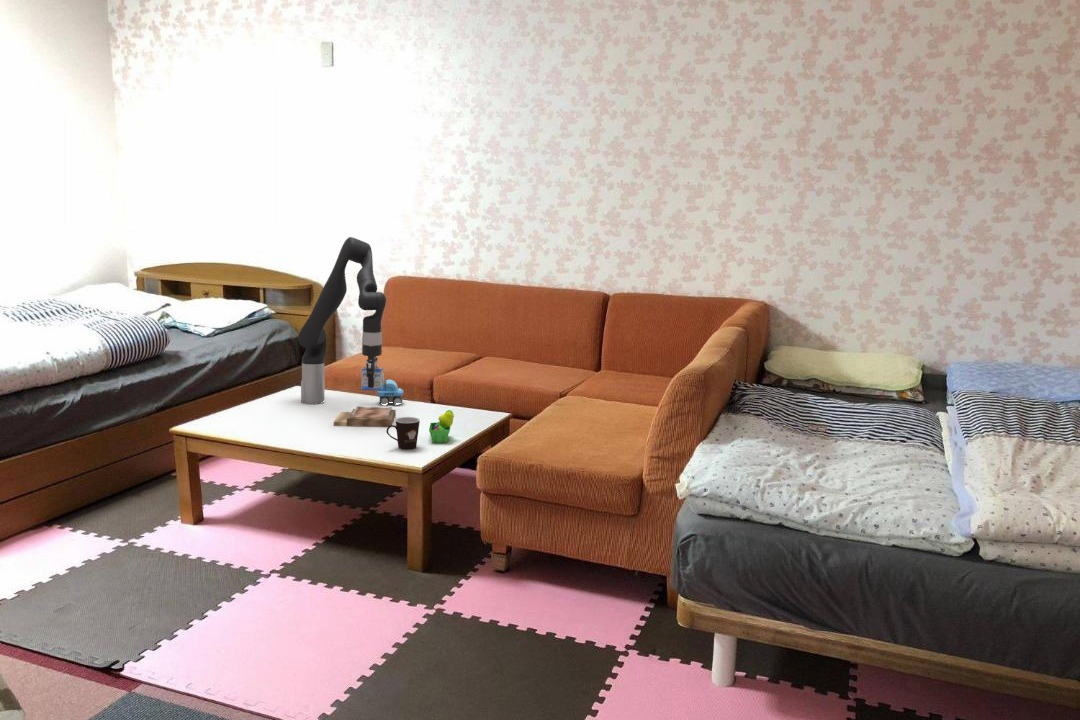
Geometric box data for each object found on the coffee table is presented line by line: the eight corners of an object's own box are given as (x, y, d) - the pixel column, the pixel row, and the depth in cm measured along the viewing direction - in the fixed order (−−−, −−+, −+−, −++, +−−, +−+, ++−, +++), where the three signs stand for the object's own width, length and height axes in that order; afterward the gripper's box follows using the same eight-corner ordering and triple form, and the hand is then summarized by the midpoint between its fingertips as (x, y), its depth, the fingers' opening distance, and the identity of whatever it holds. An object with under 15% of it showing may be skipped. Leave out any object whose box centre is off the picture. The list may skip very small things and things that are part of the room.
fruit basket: (430, 435, 319) (430, 406, 316) (453, 435, 319) (454, 406, 317) (428, 443, 307) (429, 413, 305) (453, 444, 308) (453, 414, 306)
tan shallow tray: (333, 425, 326) (333, 415, 326) (340, 415, 342) (340, 405, 341) (390, 427, 328) (391, 416, 327) (395, 416, 343) (395, 406, 343)
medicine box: (361, 390, 330) (361, 368, 329) (362, 388, 335) (362, 366, 333) (381, 390, 331) (381, 369, 330) (382, 388, 335) (382, 367, 334)
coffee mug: (419, 443, 307) (419, 417, 305) (419, 450, 298) (420, 423, 297) (386, 443, 305) (387, 417, 303) (386, 450, 297) (386, 423, 295)
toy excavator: (364, 401, 367) (364, 363, 364) (403, 401, 370) (403, 363, 367) (363, 406, 359) (364, 366, 356) (403, 406, 362) (404, 367, 359)
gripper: (365, 339, 336) (364, 381, 339) (359, 345, 322) (359, 389, 325) (384, 340, 337) (383, 382, 340) (379, 346, 323) (379, 390, 326)
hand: (371, 385), depth 333 cm, fingers closed on medicine box, 4 cm apart
